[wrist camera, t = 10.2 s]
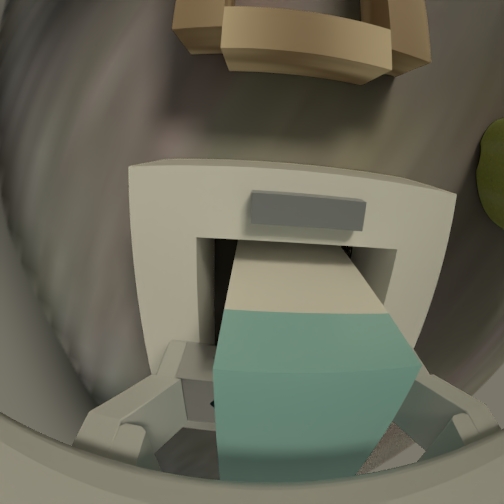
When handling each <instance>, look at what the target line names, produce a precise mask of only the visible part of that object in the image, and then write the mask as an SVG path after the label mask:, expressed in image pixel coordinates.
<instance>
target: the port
mask: <svg viewBox="0 0 504 504" xmlns="http://www.w3.org/2000/svg"><path fill="white" fill-rule="evenodd" d="M456 197H457V194H455V193H452V192H449V191H446V190H443V189H440V188H437V187H433V186H430V185H427V184H424V183H420V182H417V181H414V180H410V179H407V178H403V177H397V176H391V175H385V174H379V173H372V172H366V171H358V170H351V169H343V168H335V167H326V166H317V165H307V164H296V163H284V162H270V161H254V160H232V159H164V160H158V161H153V162H148V163H143V164H138V165H133V166H129V204H130V223H131V238H132V250H133V261H134V270H135V279H136V287H137V295H138V302H139V309H140V316H141V322H142V328H143V334H144V339H145V345H146V350H147V355H148V360H149V365H150V370H151V375H156V374H157V371H158V369H159V366H160V364H161V361H162V359H163V356H164V354H165V351H166V349H167V346H168V344H169V342H170V341H171V340H172V339H173V340H181V341H187V342H188V341H190V342H199V343H208V344H215V312H214V252H215V238H221V239H239V240H257V241H275V242H292V243H309V244H325V245H340V246H353V249H352V255H351V261H352V262H353V264H354V265H355V266H356V268H357V269H358V271H359V272H360V273H361V275H362V276H363V277H364V279H365V280H366V282H367V283H368V284H369V286H370V287H371V289H372V290H373V292H374V293H375V294H376V296H377V297H378V299H379V300H380V302H381V303H382V304H383V306H384V307H385V309H386V310H387V312H388V313H389V315H390V316H391V318H392V319H393V321H394V322H395V324H396V325H397V327H398V328H399V330H400V331H401V333H402V334H403V336H404V337H405V339H406V340H407V342H408V344H409V345H411V346H412V347H413V349H414V347H415V344H416V342H417V339H418V337H419V334H420V332H421V329H422V326H423V324H424V321H425V318H426V315H427V313H428V310H429V307H430V304H431V301H432V298H433V295H434V291H435V288H436V285H437V281H438V278H439V275H440V271H441V267H442V264H443V260H444V256H445V252H446V248H447V244H448V239H449V235H450V230H451V225H452V220H453V215H454V209H455V203H456ZM183 427H184V428H192V429H200V430H210V431H216V424H215V423H210V422H198V421H188V420H187V423H186V424H185V425H184V426H183Z"/></svg>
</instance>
